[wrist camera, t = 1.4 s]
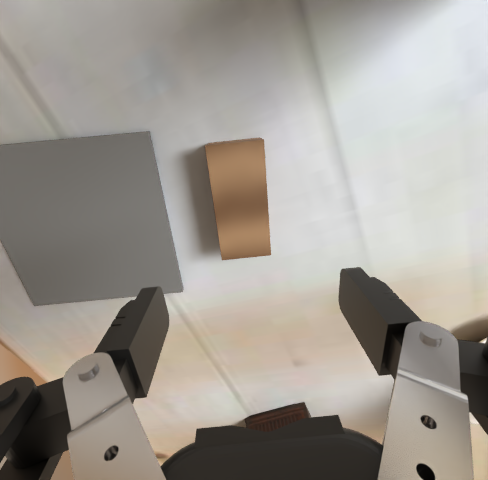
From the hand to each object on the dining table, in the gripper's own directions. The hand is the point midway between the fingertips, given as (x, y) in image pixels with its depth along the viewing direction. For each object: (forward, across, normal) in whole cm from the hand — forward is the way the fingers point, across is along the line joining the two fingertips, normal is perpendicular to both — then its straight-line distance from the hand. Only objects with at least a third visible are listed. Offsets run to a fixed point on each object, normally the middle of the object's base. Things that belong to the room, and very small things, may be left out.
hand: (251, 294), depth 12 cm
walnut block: (+18, 0, 0) cm, 18 cm away
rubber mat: (+17, +17, +2) cm, 24 cm away
